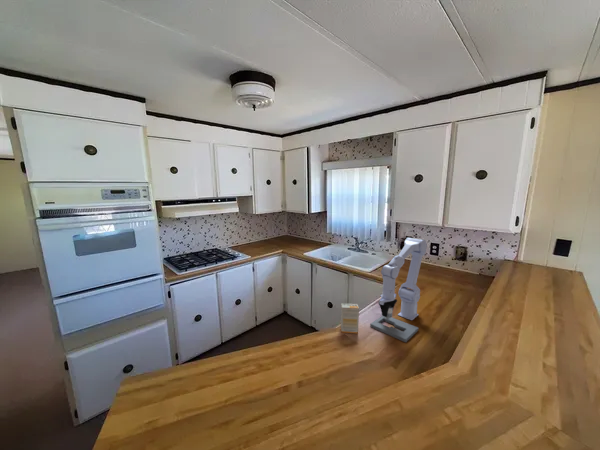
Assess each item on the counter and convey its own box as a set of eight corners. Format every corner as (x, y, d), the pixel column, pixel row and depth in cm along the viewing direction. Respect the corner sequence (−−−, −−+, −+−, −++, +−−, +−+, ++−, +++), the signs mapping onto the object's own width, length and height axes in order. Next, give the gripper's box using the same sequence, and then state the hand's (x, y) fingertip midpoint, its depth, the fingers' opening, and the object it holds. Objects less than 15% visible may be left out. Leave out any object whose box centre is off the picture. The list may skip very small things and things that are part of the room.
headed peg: (384, 314, 124) (385, 304, 124) (393, 318, 120) (394, 307, 120) (379, 318, 121) (380, 306, 120) (389, 321, 117) (389, 310, 116)
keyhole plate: (384, 317, 130) (384, 314, 129) (418, 330, 117) (418, 327, 116) (370, 326, 119) (370, 323, 119) (405, 342, 106) (405, 339, 106)
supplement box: (356, 328, 117) (357, 303, 116) (358, 334, 112) (359, 308, 111) (340, 327, 118) (341, 302, 117) (340, 332, 113) (341, 307, 112)
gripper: (387, 283, 127) (386, 307, 128) (374, 289, 117) (372, 315, 118) (400, 287, 122) (399, 311, 123) (387, 294, 112) (386, 321, 113)
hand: (387, 314), depth 120 cm, fingers closed on headed peg, 5 cm apart
